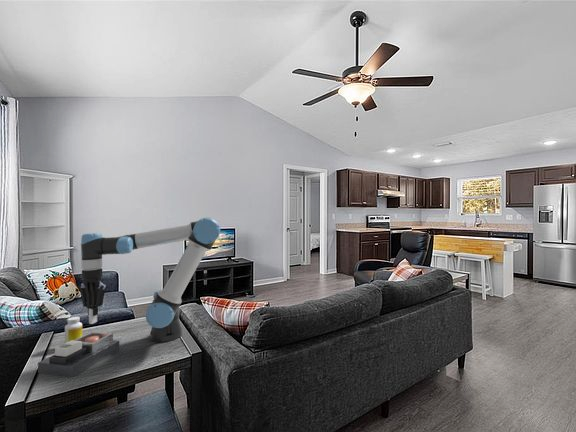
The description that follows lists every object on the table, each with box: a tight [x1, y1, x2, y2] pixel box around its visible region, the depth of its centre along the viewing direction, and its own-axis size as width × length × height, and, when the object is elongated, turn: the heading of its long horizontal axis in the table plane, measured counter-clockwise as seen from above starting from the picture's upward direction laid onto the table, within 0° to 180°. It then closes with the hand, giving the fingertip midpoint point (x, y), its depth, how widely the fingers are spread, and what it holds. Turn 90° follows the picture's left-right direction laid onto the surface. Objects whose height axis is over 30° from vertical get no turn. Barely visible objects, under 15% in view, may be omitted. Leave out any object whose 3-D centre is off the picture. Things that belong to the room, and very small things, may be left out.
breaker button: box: [85, 336, 99, 343], centre depth 127 cm, size 5×5×3 cm
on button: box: [54, 340, 82, 357], centre depth 116 cm, size 5×7×3 cm
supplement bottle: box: [64, 316, 83, 344], centre depth 135 cm, size 7×7×13 cm
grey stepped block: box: [37, 331, 120, 378], centre depth 122 cm, size 16×23×8 cm
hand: (93, 322), depth 127 cm, fingers closed
